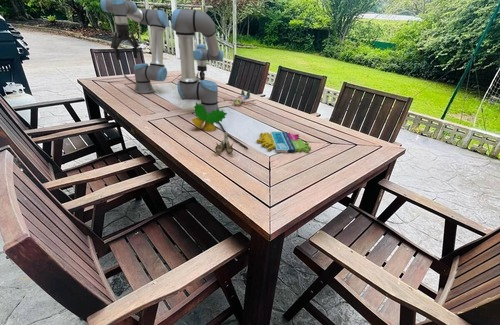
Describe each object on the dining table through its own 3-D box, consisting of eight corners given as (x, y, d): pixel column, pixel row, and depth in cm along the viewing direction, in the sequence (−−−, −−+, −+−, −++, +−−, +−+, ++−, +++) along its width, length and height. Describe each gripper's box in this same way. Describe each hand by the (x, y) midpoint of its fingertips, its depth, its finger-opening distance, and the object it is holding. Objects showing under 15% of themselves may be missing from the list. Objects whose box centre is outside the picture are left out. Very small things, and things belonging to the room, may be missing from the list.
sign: (313, 150, 142) (258, 149, 139) (312, 153, 143) (258, 152, 140) (301, 132, 164) (254, 130, 161) (301, 134, 165) (254, 133, 162)
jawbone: (234, 135, 144) (233, 125, 135) (233, 160, 138) (232, 151, 129) (217, 135, 144) (216, 125, 135) (216, 160, 138) (214, 150, 129)
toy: (261, 91, 228) (254, 99, 202) (261, 99, 231) (253, 108, 205) (231, 87, 233) (220, 95, 207) (230, 95, 236) (219, 104, 210)
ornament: (218, 133, 171) (224, 110, 169) (221, 134, 163) (227, 111, 161) (186, 125, 162) (192, 101, 160) (189, 126, 155) (195, 101, 153)
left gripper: (134, 23, 179) (138, 56, 190) (100, 23, 160) (107, 59, 170) (141, 24, 176) (145, 57, 187) (108, 24, 157) (114, 61, 167)
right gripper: (196, 63, 216) (197, 91, 228) (198, 67, 200) (199, 97, 211) (205, 63, 218) (206, 91, 229) (207, 67, 201) (208, 97, 213)
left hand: (127, 58), depth 179 cm, fingers open, 13 cm apart
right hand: (202, 94), depth 220 cm, fingers closed on gum box, 7 cm apart
